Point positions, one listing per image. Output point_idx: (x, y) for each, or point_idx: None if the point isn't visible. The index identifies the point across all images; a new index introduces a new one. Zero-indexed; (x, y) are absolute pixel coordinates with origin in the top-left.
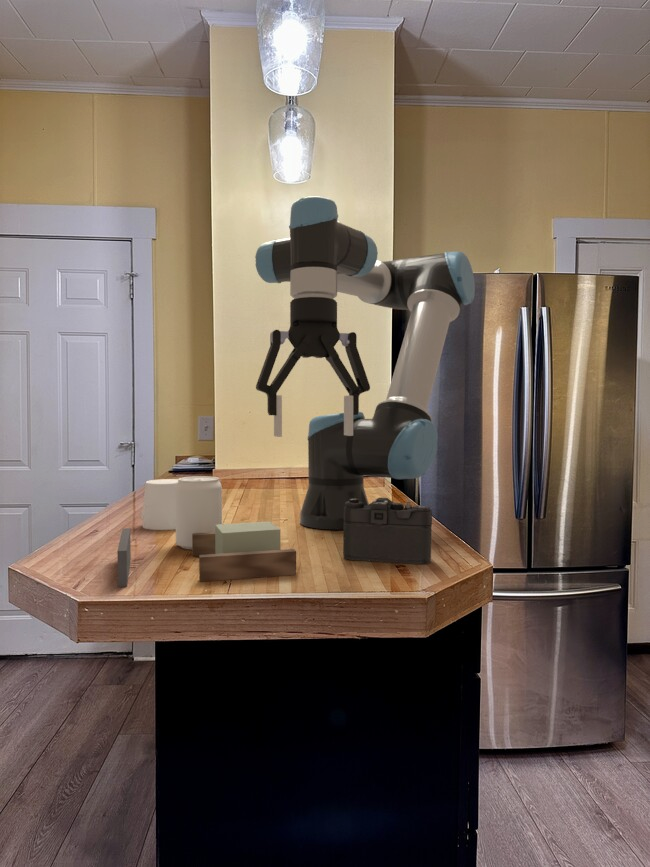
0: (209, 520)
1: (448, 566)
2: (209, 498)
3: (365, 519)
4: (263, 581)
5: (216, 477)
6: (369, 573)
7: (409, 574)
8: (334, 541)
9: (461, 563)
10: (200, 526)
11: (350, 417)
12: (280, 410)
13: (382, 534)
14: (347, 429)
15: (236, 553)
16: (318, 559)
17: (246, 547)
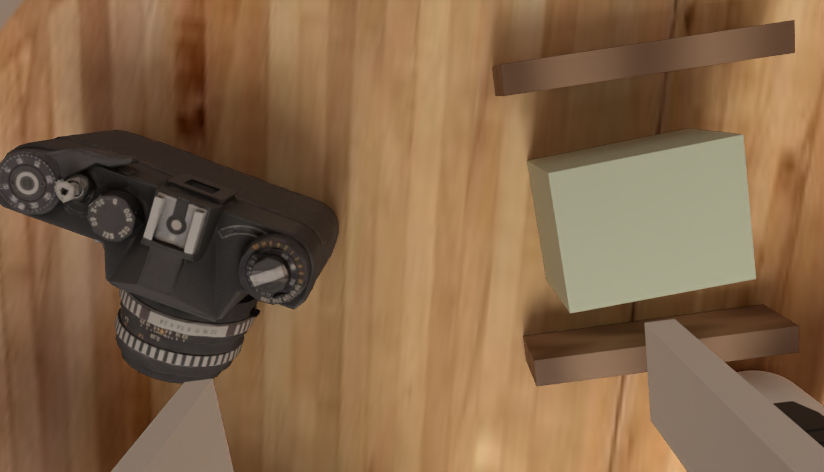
0: None
1: (55, 102)
2: None
3: (250, 208)
4: (587, 12)
5: None
6: (289, 56)
7: (181, 32)
8: (339, 430)
9: (11, 130)
10: (777, 399)
11: (154, 443)
12: (734, 396)
13: (209, 179)
14: (205, 424)
15: (682, 57)
16: (412, 225)
17: (644, 146)
